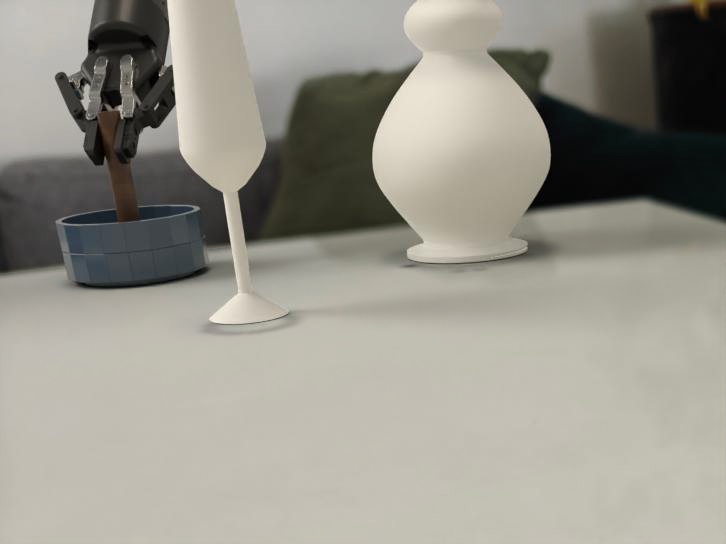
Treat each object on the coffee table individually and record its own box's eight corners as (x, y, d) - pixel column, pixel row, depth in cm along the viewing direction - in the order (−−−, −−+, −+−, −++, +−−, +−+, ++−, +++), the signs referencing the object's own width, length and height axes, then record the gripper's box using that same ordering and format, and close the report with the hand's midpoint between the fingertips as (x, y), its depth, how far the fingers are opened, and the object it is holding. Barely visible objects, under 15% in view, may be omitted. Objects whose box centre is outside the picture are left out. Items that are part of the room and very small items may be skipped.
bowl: (51, 293, 110) (36, 228, 108) (90, 268, 123) (78, 210, 120) (195, 283, 110) (184, 218, 108) (220, 259, 123) (210, 201, 120)
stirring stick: (109, 266, 114) (77, 113, 107) (120, 258, 118) (90, 111, 111) (154, 262, 114) (125, 110, 107) (164, 255, 118) (137, 108, 111)
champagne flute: (198, 325, 92) (139, -14, 81) (221, 308, 98) (168, -10, 87) (279, 322, 91) (230, -20, 80) (296, 304, 97) (253, -16, 86)
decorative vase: (585, 251, 113) (581, -39, 101) (423, 275, 106) (398, -32, 95) (504, 233, 127) (492, -23, 116) (357, 253, 121) (328, -16, 109)
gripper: (50, -8, 112) (22, 135, 107) (183, -19, 110) (160, 127, 105) (85, 51, 119) (60, 188, 114) (210, 42, 117) (190, 181, 112)
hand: (108, 158), depth 110 cm, fingers closed on stirring stick
